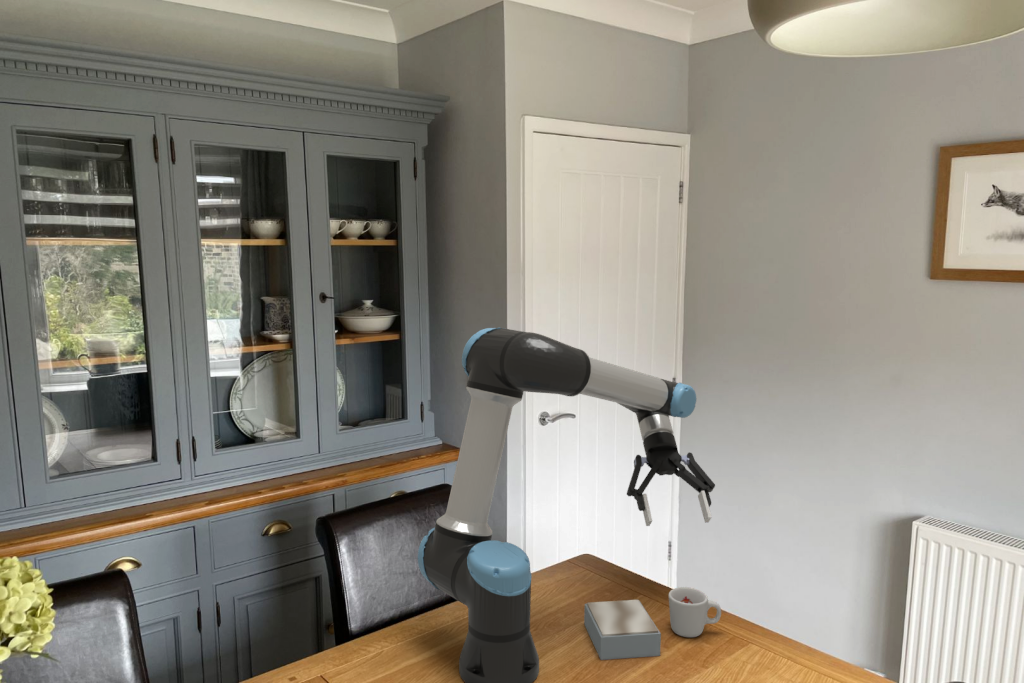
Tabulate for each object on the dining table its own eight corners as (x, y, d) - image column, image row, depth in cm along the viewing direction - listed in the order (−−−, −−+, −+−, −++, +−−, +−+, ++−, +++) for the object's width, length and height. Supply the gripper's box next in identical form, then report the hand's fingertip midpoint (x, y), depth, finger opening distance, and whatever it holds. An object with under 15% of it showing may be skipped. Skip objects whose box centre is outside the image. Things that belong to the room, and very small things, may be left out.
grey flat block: (600, 659, 145) (601, 635, 144) (584, 624, 158) (584, 601, 158) (660, 655, 146) (660, 631, 145) (638, 620, 160) (639, 598, 159)
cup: (716, 624, 159) (718, 588, 158) (723, 643, 151) (725, 606, 150) (665, 621, 160) (666, 585, 159) (669, 640, 152) (670, 603, 151)
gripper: (703, 443, 182) (727, 525, 169) (604, 448, 178) (620, 531, 166) (712, 428, 176) (738, 511, 163) (610, 432, 172) (627, 517, 160)
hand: (679, 522), depth 164 cm, fingers open, 13 cm apart
